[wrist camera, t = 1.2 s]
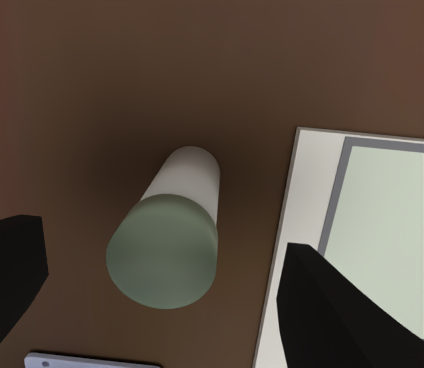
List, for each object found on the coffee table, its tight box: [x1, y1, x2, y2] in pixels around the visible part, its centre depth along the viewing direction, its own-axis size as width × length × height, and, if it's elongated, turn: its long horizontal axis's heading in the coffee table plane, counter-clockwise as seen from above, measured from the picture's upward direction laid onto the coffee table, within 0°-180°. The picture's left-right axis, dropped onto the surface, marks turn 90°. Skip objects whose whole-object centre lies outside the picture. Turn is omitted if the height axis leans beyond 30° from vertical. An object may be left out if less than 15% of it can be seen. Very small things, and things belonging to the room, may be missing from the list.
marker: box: [106, 146, 220, 309], centre depth 13 cm, size 3×3×8 cm
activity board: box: [252, 127, 424, 368], centre depth 17 cm, size 14×18×3 cm
